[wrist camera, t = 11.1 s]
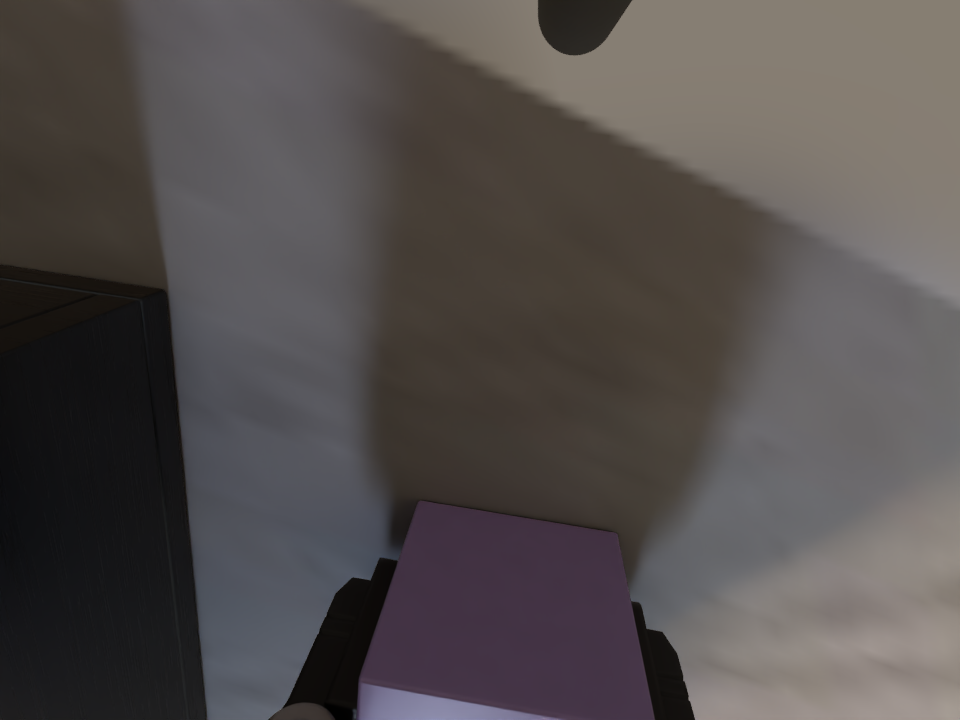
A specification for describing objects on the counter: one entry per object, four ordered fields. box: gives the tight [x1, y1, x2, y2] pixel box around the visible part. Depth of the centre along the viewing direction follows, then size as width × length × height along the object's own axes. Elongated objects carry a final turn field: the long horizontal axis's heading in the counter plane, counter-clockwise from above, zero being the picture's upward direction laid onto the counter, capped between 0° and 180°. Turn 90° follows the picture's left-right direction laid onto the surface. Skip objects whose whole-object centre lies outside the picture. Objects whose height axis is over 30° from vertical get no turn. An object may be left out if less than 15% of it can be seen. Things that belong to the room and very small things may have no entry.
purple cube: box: [356, 501, 655, 720], centre depth 11 cm, size 4×4×4 cm
